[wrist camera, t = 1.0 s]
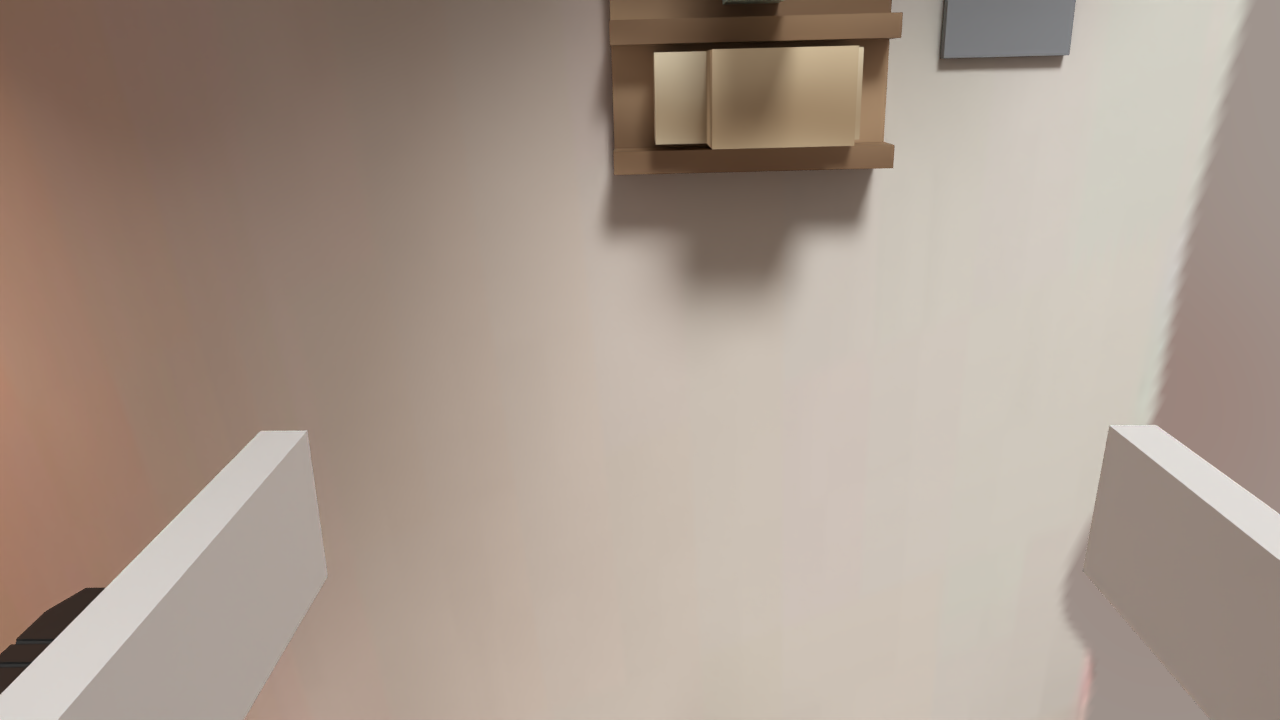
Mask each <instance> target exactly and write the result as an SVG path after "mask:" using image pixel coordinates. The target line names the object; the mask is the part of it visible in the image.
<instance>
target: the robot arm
mask: <svg viewBox="0 0 1280 720" xmlns="http://www.w3.org/2000/svg"><path fill="white" fill-rule="evenodd" d="M1083 572H1084V573H1085V574H1086V576H1087V577H1088V578H1089V579H1090V580H1091V581H1092V583H1093V584H1094V585H1095V586H1096V587H1097V588H1098V590H1100V592H1101V593H1102V594H1103V595H1104V596H1105V598H1106V599H1107V600H1108V601H1109V602H1110V604H1112V606H1113V607H1114V608H1115V609H1116V611H1117V612H1118V613H1119V614H1120V615H1121V616H1122V618H1123V619H1124V620H1125V621H1126V622H1127V623H1128V625H1129V626H1130V627H1131V628H1132V629H1133V630H1134V632H1135V633H1136V634H1137V635H1138V636H1139V637H1140V639H1141V640H1142V641H1143V642H1144V643H1145V644H1146V646H1147V647H1148V648H1149V649H1150V650H1151V651H1152V652H1153V654H1154V655H1155V656H1156V657H1157V658H1158V659H1159V661H1160V662H1161V663H1162V664H1163V665H1164V666H1165V668H1166V669H1167V670H1168V671H1169V672H1170V674H1171V675H1172V676H1173V677H1174V678H1175V679H1176V681H1177V682H1178V683H1179V684H1180V685H1181V686H1182V688H1183V689H1184V690H1185V691H1186V692H1187V693H1188V694H1189V696H1190V697H1191V698H1192V699H1193V700H1194V702H1195V703H1196V704H1197V705H1198V706H1199V707H1200V709H1201V710H1202V711H1203V712H1204V713H1205V714H1206V716H1207V717H1208V718H1209V719H1210V720H1280V514H1279V513H1277V512H1276V511H1275V510H1273V509H1272V508H1270V507H1269V506H1268V505H1266V504H1265V503H1263V502H1262V501H1261V500H1259V499H1258V498H1257V497H1255V496H1254V495H1252V494H1251V493H1250V492H1248V491H1247V490H1246V489H1244V488H1243V487H1241V486H1240V485H1238V484H1237V483H1236V482H1234V481H1233V480H1232V479H1230V478H1229V477H1227V476H1226V475H1225V474H1223V473H1222V472H1221V471H1219V470H1218V469H1216V468H1215V467H1213V466H1212V465H1211V464H1209V463H1208V462H1207V461H1205V460H1204V459H1203V458H1201V457H1200V456H1198V455H1197V454H1196V453H1194V452H1193V451H1191V450H1190V449H1189V448H1187V447H1186V446H1184V445H1183V444H1182V443H1180V442H1179V441H1178V440H1176V439H1175V438H1173V437H1172V436H1171V435H1169V434H1168V433H1166V432H1165V431H1163V430H1162V429H1161V428H1159V427H1158V426H1157V425H1109V431H1108V436H1107V441H1106V447H1105V452H1104V458H1103V463H1102V469H1101V474H1100V479H1099V485H1098V490H1097V496H1096V501H1095V507H1094V512H1093V517H1092V523H1091V528H1090V534H1089V539H1088V544H1087V550H1086V555H1085V561H1084V566H1083ZM327 577H328V573H327V566H326V559H325V552H324V545H323V538H322V531H321V523H320V516H319V509H318V502H317V495H316V488H315V481H314V474H313V466H312V459H311V452H310V445H309V438H308V431H260V432H259V433H258V434H257V435H256V436H255V437H254V438H253V439H252V440H251V441H250V442H249V443H248V444H247V445H246V446H245V447H244V448H243V449H242V450H241V451H240V452H239V453H238V454H237V455H236V456H235V457H234V458H233V459H232V460H231V461H230V462H229V463H228V464H227V465H226V466H225V467H224V468H223V469H222V470H221V471H220V472H219V473H218V474H217V475H216V476H215V478H214V479H213V480H212V481H211V482H210V483H209V484H208V485H207V486H206V487H205V488H204V489H203V490H202V491H201V492H200V493H199V494H198V495H197V496H196V497H195V498H194V499H193V500H192V501H191V502H190V503H189V504H188V505H187V506H186V507H185V508H184V509H183V510H182V511H181V512H180V513H179V514H178V515H177V516H176V517H175V518H174V519H173V520H172V521H171V522H170V523H169V524H168V525H167V526H166V527H165V528H164V529H163V530H162V531H161V532H160V533H159V534H158V535H157V536H156V537H155V538H154V539H153V540H152V541H151V542H150V543H149V544H148V545H147V546H146V547H145V548H144V549H143V550H142V552H141V553H140V554H139V555H138V556H137V557H136V558H135V559H134V560H133V561H132V562H131V563H130V564H129V565H128V566H127V567H126V568H125V569H124V570H123V571H122V572H121V573H120V574H119V575H118V576H117V577H116V578H115V579H114V580H113V581H112V582H111V583H110V584H109V585H108V586H107V587H106V588H85V589H83V590H82V591H80V592H78V593H76V594H75V595H73V596H71V597H70V598H68V599H66V600H64V601H63V602H61V603H59V604H58V605H56V606H54V607H52V608H51V609H49V610H47V611H46V612H44V613H43V614H42V615H41V616H40V617H39V618H38V619H37V620H36V621H35V622H34V623H33V624H32V625H31V626H30V627H29V628H28V629H27V630H26V631H24V632H23V633H22V634H21V635H20V636H19V637H18V638H17V639H16V640H17V642H16V644H15V645H10V646H9V647H8V648H7V649H6V650H5V651H3V652H2V653H1V654H0V720H244V719H245V717H246V715H247V713H248V712H249V710H250V708H251V707H252V705H253V703H254V702H255V700H256V698H257V696H258V695H259V693H260V691H261V690H262V688H263V686H264V684H265V683H266V681H267V679H268V678H269V676H270V674H271V672H272V671H273V669H274V667H275V666H276V664H277V662H278V661H279V659H280V657H281V655H282V654H283V652H284V650H285V649H286V647H287V645H288V643H289V642H290V640H291V638H292V637H293V635H294V633H295V632H296V630H297V628H298V626H299V625H300V623H301V621H302V620H303V618H304V616H305V614H306V613H307V611H308V609H309V608H310V606H311V604H312V602H313V601H314V599H315V597H316V596H317V594H318V592H319V591H320V589H321V587H322V585H323V584H324V582H325V580H326V579H327Z"/></svg>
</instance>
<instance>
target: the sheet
mask: <svg viewBox="0 0 1280 720" xmlns="http://www.w3.org/2000/svg"><path fill="white" fill-rule="evenodd" d="M782 1H784V0H722V4H760V3H780V2H782Z"/></svg>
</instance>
